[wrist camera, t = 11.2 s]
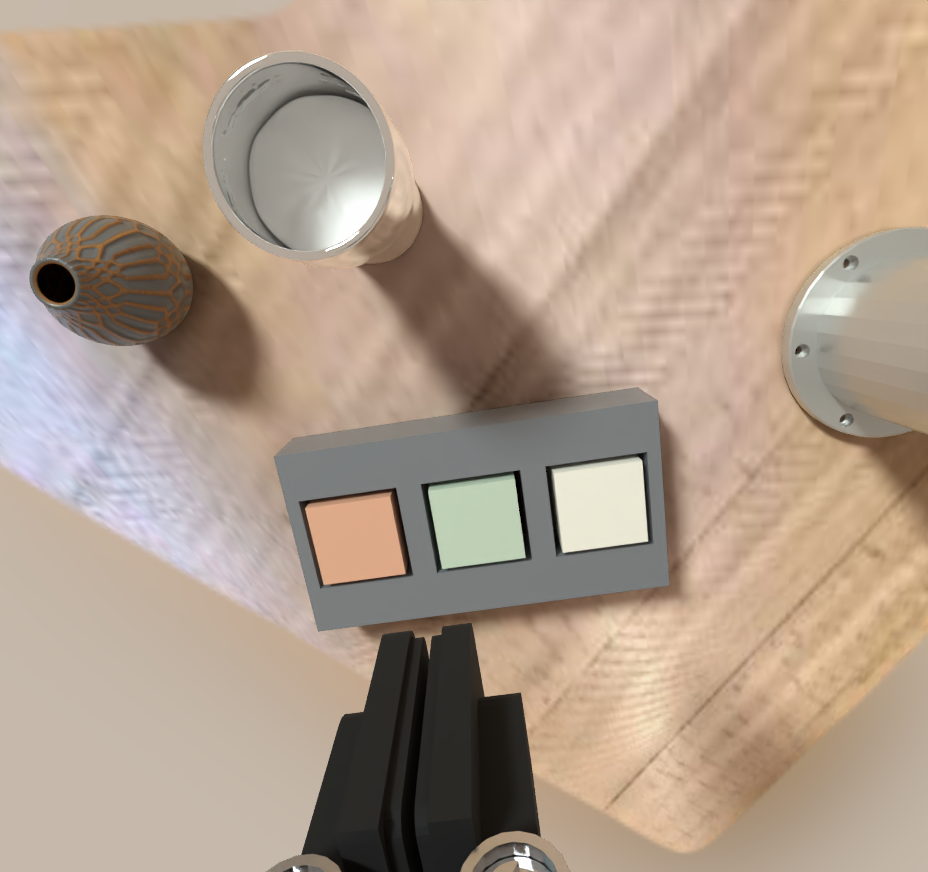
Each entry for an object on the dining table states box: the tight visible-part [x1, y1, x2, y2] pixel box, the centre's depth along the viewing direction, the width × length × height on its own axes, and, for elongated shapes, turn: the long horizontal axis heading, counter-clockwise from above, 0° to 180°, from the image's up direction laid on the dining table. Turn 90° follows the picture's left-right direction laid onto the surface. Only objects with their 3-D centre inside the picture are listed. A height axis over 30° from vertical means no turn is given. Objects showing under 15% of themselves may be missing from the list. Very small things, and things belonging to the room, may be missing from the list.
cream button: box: [546, 454, 648, 553], centre depth 36 cm, size 5×5×4 cm
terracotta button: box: [305, 488, 409, 585], centre depth 37 cm, size 5×5×4 cm
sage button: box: [428, 471, 526, 569], centre depth 36 cm, size 5×5×4 cm
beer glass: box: [203, 50, 422, 269], centre depth 27 cm, size 7×7×15 cm
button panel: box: [274, 388, 669, 631], centre depth 37 cm, size 23×12×4 cm, turn 99°
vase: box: [30, 215, 193, 346], centre depth 31 cm, size 7×7×9 cm
